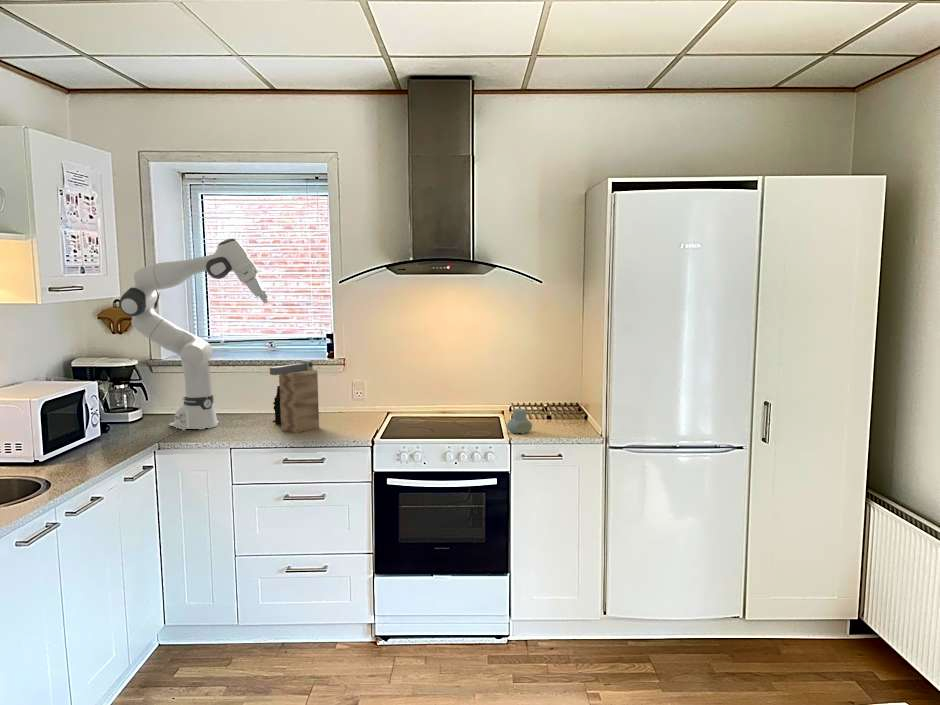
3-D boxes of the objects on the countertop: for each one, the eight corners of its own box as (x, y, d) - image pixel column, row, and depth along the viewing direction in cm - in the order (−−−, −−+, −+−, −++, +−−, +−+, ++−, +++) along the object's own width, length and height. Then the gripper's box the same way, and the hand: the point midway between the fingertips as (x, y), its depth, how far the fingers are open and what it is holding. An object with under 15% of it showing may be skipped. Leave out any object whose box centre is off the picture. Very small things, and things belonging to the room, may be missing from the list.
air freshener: (511, 435, 290) (511, 412, 289) (503, 431, 298) (503, 408, 297) (535, 433, 294) (535, 410, 293) (526, 429, 302) (526, 407, 301)
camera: (303, 419, 327) (302, 377, 324) (293, 425, 313) (291, 381, 311) (283, 418, 328) (281, 376, 325) (272, 424, 314) (270, 381, 312)
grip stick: (268, 374, 292) (268, 365, 291) (305, 368, 309) (305, 359, 309) (277, 375, 289) (276, 366, 289) (313, 369, 306) (313, 360, 306)
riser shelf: (281, 430, 303) (279, 371, 300) (303, 424, 314) (301, 368, 311) (297, 433, 297) (295, 373, 294) (319, 427, 308) (317, 369, 305)
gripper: (241, 273, 303) (259, 299, 308) (240, 280, 284) (260, 308, 289) (254, 266, 303) (272, 292, 309) (254, 272, 285) (273, 300, 290)
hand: (266, 300), depth 299 cm, fingers open, 8 cm apart
